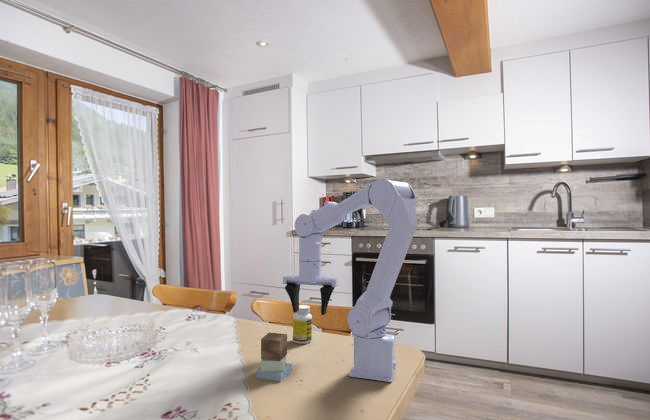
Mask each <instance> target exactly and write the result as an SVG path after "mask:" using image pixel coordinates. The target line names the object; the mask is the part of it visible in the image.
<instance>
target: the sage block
mask: <svg viewBox="0 0 650 420" xmlns="http://www.w3.org/2000/svg"><path fill="white" fill-rule="evenodd" d="M260 360H261V361H260V367H261V371H284V369H285V365H286V363H287V354H286V355H285V356H284V358H283V359H282V360H281V361H273V360H264V359H260Z"/></svg>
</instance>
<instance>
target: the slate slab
mask: <svg viewBox="0 0 650 420" xmlns="http://www.w3.org/2000/svg"><path fill="white" fill-rule="evenodd" d="M292 371H293V363H291V362H290V363H289V362H286V365H285V369H284V371H261V366H260V367H259V368H257V369H256V370H255V379H260V380H261V379H262V380H268V381H274V382H278V383H279V382H283V381H284V380H285V379H286V377H288V376H289V375H290V373H291V372H292Z"/></svg>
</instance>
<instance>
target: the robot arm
mask: <svg viewBox="0 0 650 420" xmlns="http://www.w3.org/2000/svg"><path fill="white" fill-rule="evenodd" d="M417 200H418V196H417V194H416V192H415V190H414V189H413V187H412V186H411V184H409V183H408V182H405V181H395V180H389V179H387V178H380V179H377V180H375V181H374V182H370V183H368V184H366V185H365V186H364V187H363V188H361V189H360V190H358V191H357V192H355V193H353V194H351V195H350V196H347V198H345V199H343V200H342V201H340V202H338V203H337V202H336V201H325V202H324V203H323V206H321V207H319V208H318V209H312V210H310V213H309V214H306V213H300V214H299V216H297V217H296V218H295V221H294V231H295V233H296V234H297V235H298V239H299V240H298V247H299V249H298V250H299V251H298V275H283V276H282V284H283V285H284V284H285V285H284V290H285V292H286V293H287V295H288V297H289V299H290V302H291V307H292V312H293V313H294V314H296V313H297V312H298V311H299V305H300V291H301V285H304V286H305V285H306V286H322V287H320V288H319V291H320V300H321V306H320V313H321V316H325V315H326V314H327V310H328V305H329V301H330V299H331V296H332V294H333V292H334V289H335V288H337V287H338V286H339V283H338V282H339V280H338V277H337V278H336V277H327V276H322V241H323V235H324V234H325V232H326V231H327V230H330V229H332V228H333V227H335V226H338V225H340V224H342V223H343V222H344V219H345V216H347V215H350V214H352V213H354V212H356V211H359V210H361V209H364V208H365V207H368V206H370V205H371V206H373V207H374V208H375V209H376V210H377V211H378V212H379V213H380V214H381V215H382V216H383V217H384V219H385V221H386V222H387V224H388V227H389V228H388V230H387V233H386V236H385V238H384V241H383V244H382V247H381V250H380V252H379V255H378V256H377V257H378V258H377V261H376V263H375V266H374V268H373V271H372V274H371V277H370V279H369V282H368V285H367V287H366V289H365V291H364V292H363V293H362V294H361V295H360V296H359V298H358V299H357V300H356V303H355V305H354V306H353V307H352V308H351V309H350V310H349V311H348V313H347V319H346V320H347V325H348V328H349V329H350V330H351V332H352V335H353V366H352V368H351V369H350V371H349V373H348V376H349V377H350V378H357V379H358V378H359V379H364V380H365V379H366V380H373V381H380V382H388V383H392V382H393V379H394V375H395V371H396V367H397V361H396V337H395V335H393V334H388V333H387V332H386V331H387V326H388V325H389V324H390V323H391V319H392V306H393V304H394V302H393V300H392V299H391V296H392V293H393V292H392V291H393V290H394V287H395V285H396V281H397V280H398V276H399V274H400V272H401V268H402V266H403V264H404V261H405V259H406V255H407V253H408V251H409V248H410V246H411V242H412V241H413V238H414V235H415V233H416V230H417V226H418V219H417V211H416V208H417V207H416V202H417Z"/></svg>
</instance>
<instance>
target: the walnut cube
mask: <svg viewBox="0 0 650 420" xmlns="http://www.w3.org/2000/svg"><path fill="white" fill-rule="evenodd" d="M287 354H288V333H280V332H279V333H278V332H268V333H266V334H265V335H264V336H263V337H261V338H260V360H262V359H264V360H273V361H281V360H282V359H283V358H284V356H285V355H286V356H287Z"/></svg>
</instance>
